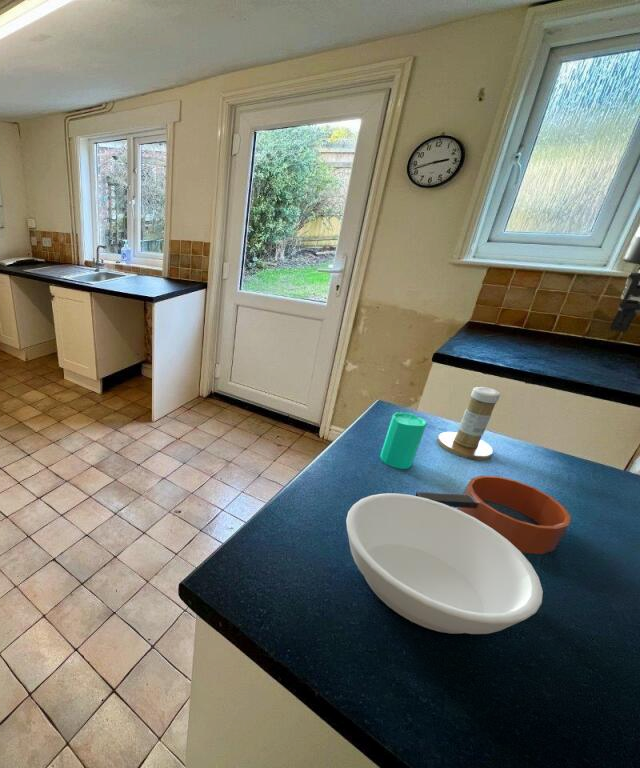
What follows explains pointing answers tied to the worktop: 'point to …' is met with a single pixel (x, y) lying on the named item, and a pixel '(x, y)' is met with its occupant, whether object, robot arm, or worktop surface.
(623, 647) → the worktop surface
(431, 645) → the worktop surface
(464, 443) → the sprinkles bottle
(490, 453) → the disc
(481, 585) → the bowl
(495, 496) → the pan
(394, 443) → the candle
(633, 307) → the robot arm
